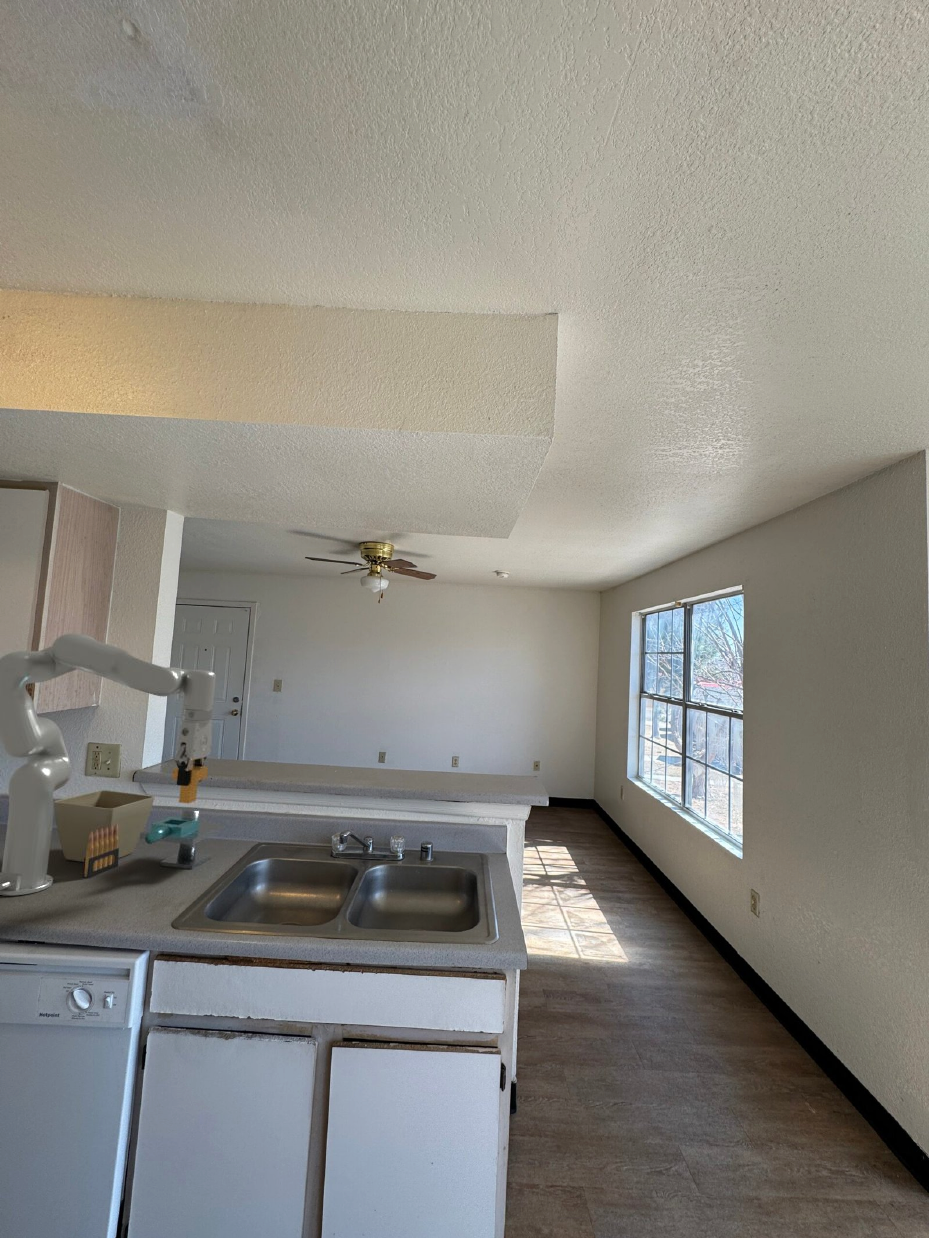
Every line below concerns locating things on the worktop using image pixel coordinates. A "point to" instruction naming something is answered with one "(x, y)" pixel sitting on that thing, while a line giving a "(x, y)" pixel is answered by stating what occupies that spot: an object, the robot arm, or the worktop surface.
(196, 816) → the teal meat grinder
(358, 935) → the worktop surface
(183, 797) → the tan t-shaped peg
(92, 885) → the worktop surface
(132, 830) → the flower pot
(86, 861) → the ammunition clip
